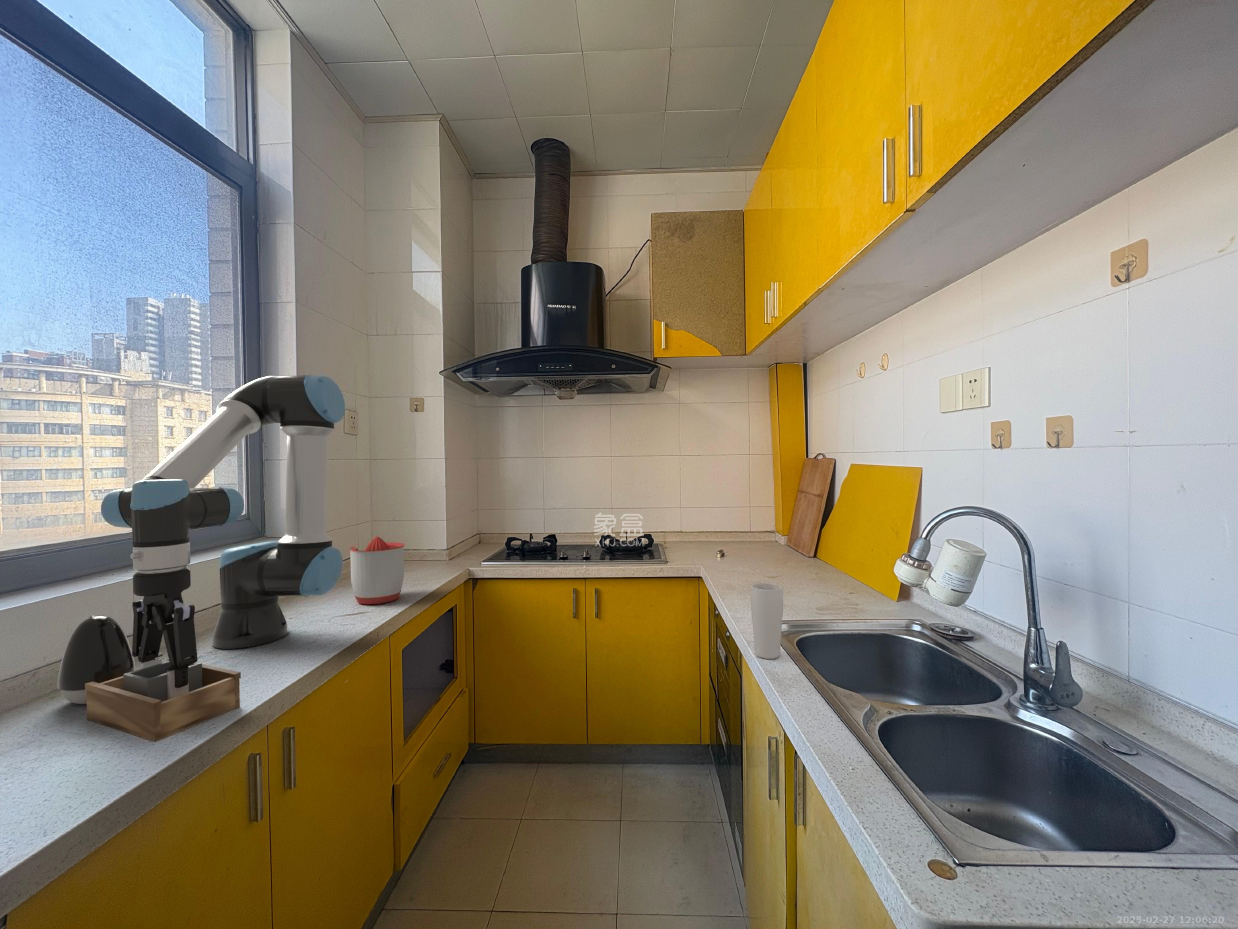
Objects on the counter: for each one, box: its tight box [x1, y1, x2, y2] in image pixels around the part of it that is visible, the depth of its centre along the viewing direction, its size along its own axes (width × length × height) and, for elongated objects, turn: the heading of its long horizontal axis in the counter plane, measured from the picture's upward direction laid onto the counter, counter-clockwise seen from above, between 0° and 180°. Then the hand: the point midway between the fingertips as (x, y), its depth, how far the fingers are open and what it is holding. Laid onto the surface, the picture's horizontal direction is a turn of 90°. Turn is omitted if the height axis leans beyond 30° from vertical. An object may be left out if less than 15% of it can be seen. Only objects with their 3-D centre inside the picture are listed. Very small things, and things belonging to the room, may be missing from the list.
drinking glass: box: [750, 582, 784, 660], centre depth 114 cm, size 7×7×15 cm
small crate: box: [123, 660, 203, 702], centre depth 91 cm, size 8×7×6 cm
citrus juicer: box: [349, 536, 405, 605], centre depth 165 cm, size 16×17×20 cm
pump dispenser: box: [57, 615, 136, 705], centre depth 98 cm, size 10×10×15 cm
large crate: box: [85, 658, 242, 743], centre depth 92 cm, size 13×20×6 cm, turn 67°
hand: (165, 701), depth 92 cm, fingers closed on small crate, 7 cm apart
